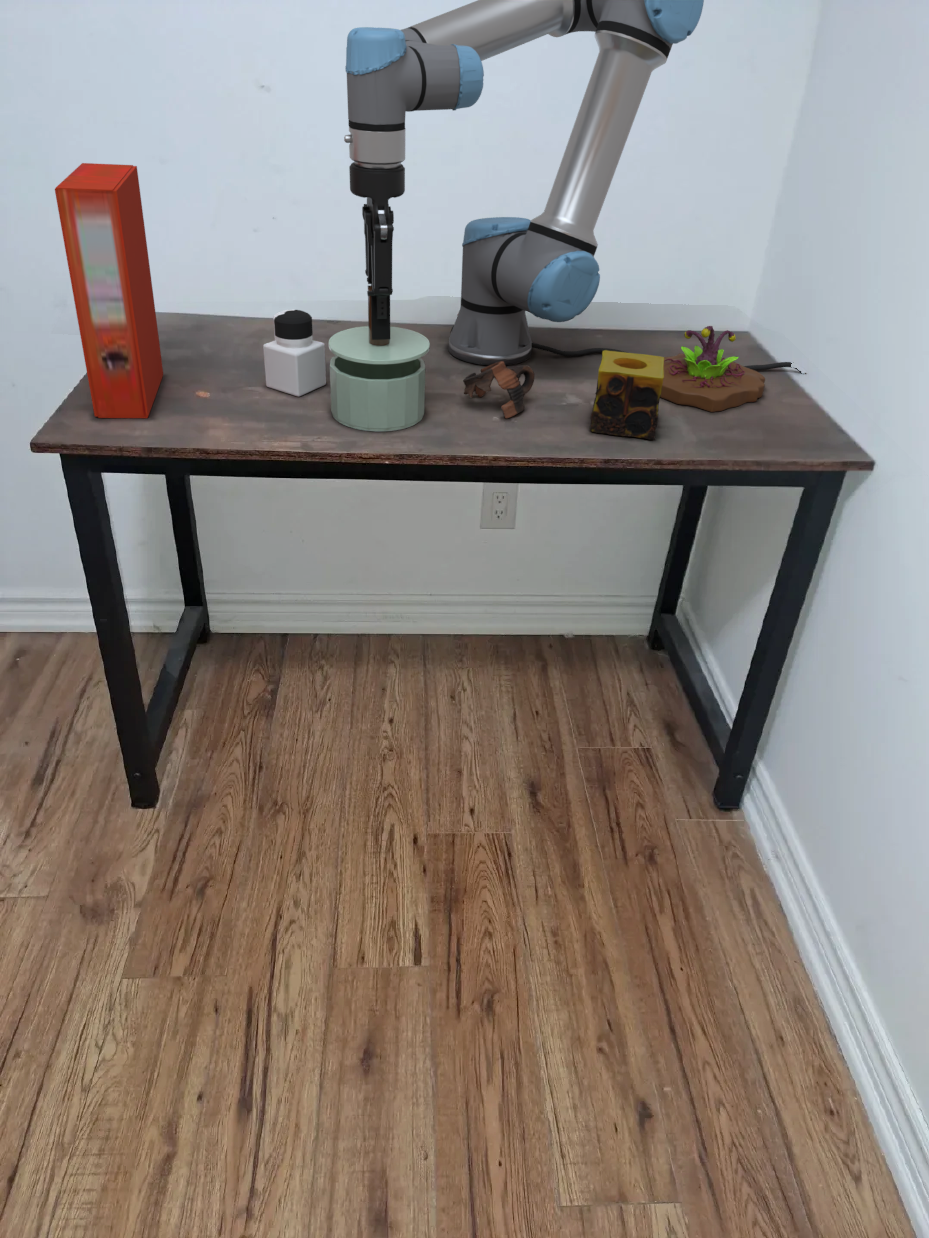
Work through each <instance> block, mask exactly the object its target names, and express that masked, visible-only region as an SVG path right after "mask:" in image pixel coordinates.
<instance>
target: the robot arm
mask: <svg viewBox="0 0 929 1238" xmlns="http://www.w3.org/2000/svg"><path fill="white" fill-rule="evenodd" d="M704 2H705V0H475V1H472V2H470V3H467V4H465V5H462V6H460V7H457V8H455V9H452V10H448V11H447V12H444V13H442V14H439V15H436V16H433V17H432V18H428V19H426V20H423V21H421V22H418V23H416V24H413V25H411V26H408V27H406V28H402V29H399V28H391V27H373V26H372V27H371V26H370V27H369V26H362V27H354V28H352V29H351V30H349V32H348V34H347V37H346V48H345V49H346V51H345V67H344V68H345V73H346V95H347V120H348V132H349V133H350V134H345V135H344V137H343V138H344V139H343V141H344V143H347V144H349V145H348V151H349V153H348V154H349V159H350V160H351V161H352V162H351V163H350V165H349V169H348V171H349V190H350V191H349V192H351V194H352V195H354V196H356V197H358V198H364V199H365V198H366V203H364V204H363V206H362V207H361V209H362V210H361V214H362V215H361V216H362V220H363V234H364V246H365V247H364V249H365V252H364V253H365V270H364V271H365V273H364V274H365V275H366V282H367V288H368V287H370V286H372V291H368V290H366V292H367V293H366V294H367V297H368V296H371V332H372V340H382V339H390V326H391V296H392V295H393V293H394V289H393V241H394V239H393V238H394V237H393V236H394V231H395V227H394V222H395V221H394V219H395V217H394V214H395V213H394V210H392V207H391V206H389V205H390V204H389V200H390V199H392V198H394V199H396V198H400V197H402V196H403V195H404V194H405V192H406V167H405V166H404V165H403V164H402V163H404V162H405V160H406V130H407V129H406V113H407V112H409V113H411V112H419V111H441V110H442V111H444V110H446V111H447V110H452V112H453V111H457V110H460V109H467V108H470V107H472V106H474V105H475V104H477V102H478V101H479V100H480V98H481V96H482V93H483V89H484V76H485V71H484V65H483V61H485V60H487V59H490V58H492V57H493V58H494V57H495V56H497V55H500V54H503V53H505V52H507V51H509V50H512V49H514V48H517V47H520V46H522V45H525V44H526V43H530V42H533V41H535V40H537V39H539V38H542V37H544V36H547V35H549V36H550V37H553V38H560V37H564V36H565V35H568V34H571V33H578V32H593V33H594V38H595V41H596V44H597V46H598V51H599V52H598V55H597V57H596V61H595V63H594V66H593V69H592V72H591V74H590V78H589V80H588V83H587V86H586V89H585V92H584V94H583V98H582V100H581V103H580V106H579V109H578V112H577V115H576V117H575V121H574V124H573V127H572V129H571V132H570V135H569V138H568V142H567V143H566V146H565V150H564V152H563V156H562V158H561V161H560V164H559V166H558V170H557V173H556V175H555V178H554V181H553V184H552V187H551V190H550V193H549V195H548V199H547V201H546V204H545V206H544V210H543V212H542V213H541V214H539V215H538V216H536V217H533V218H532V219H529V218H527V217H526V218H525V217H519V216H518V217H516V216H499V217H498V216H496V217H495V216H494V217H484V218H483V217H482V218H477V219H473V220H471V221H470V222H467V224H466V225H465V228H464V232H463V233H464V234H463V241H462V244H461V246H462V257H461V287H460V288H461V289H460V306H459V310H458V313H457V316H456V319H455V321H454V324H453V325H452V327H451V330H450V332H449V333H450V334H449V337H448V352H449V353H450V355H452V356H453V357H455V358H457V359H458V360H461V361H463V362H466V363H470V364H474V365H481V366H490V365H492V364H494V363H497V362H500V361H504V363H505V366H511V365H517V364H521V363H523V362H525V361H527V360H528V359H530V358H531V357H532V350H533V349H536V350H541V351H545V352H549V353H551V354H555V355H558V356H562V357H579V356H585V355H591V354H602V352H603V351H604V350H607V351H615V352H626V353H629V352H628V351H623V350H620V349H614V348H608V347H593V348H586V349H585V348H584V349H580V350H563V349H562V350H561V349H558V348H555V347H552V346H549V345H544V344H541V343H536V342H533V341H532V337H531V333H530V329H529V325H528V319H527V315H526V312H527V313H530V314H532V315H533V316H534V317H536V318H539V319H541V320H547V321H550V322H553V323H564V322H569V321H571V320H573V319H574V318H575V317H577V316H579V315H581V314H582V313H583V312H584V311H585V310H586V309H587V308H588V307H589V306H590V304H591V303H592V301H593V300H594V298H595V296H596V295H597V291H598V289H599V286H600V281H601V274H600V272H599V271H600V266H599V263H598V261H597V260H596V258H595V255H596V252H597V249H598V246H599V244H598V241H597V239H596V236H595V232H594V231H595V228H596V225H597V223H598V220H599V217H600V213H601V211H602V208H603V206H604V203H605V200H606V197H607V195H608V193H609V189H610V187H611V184H612V182H613V179H614V176H615V174H616V171H617V168H618V165H619V163H620V160H621V158H622V154H623V151H624V149H625V146H626V143H627V141H628V138H629V135H630V134H631V133H630V132H631V130H632V127H633V124H634V121H635V119H636V116H637V113H638V110H639V108H640V106H641V102H642V100H643V98H644V94H645V92H646V89H647V86H648V83H649V81H650V78H651V75H652V73H653V71H655V70H656V69H658V68H659V67H661V66H663V65H665V64H666V63H667V61H668V58H669V55H670V52H671V50H672V47H673V45H674V44H679V43H681V42H683V41H685V40H686V39H688V37H689V36H691V35H692V34H693V33H694V31H695V30H696V28H697V26H698V24H699V21H700V19H701V17H702V13H703V9H704ZM791 362H792V361H783V362H782V361H779V362H773V363H767V364H753V365H743V366H744V367H746V368H749V369H752V370H755V371H767V370H774V369H779V368H781V369H782V368H791V369H793V368H792V367H791V364H792V363H791ZM794 370H797V372H799V374H802V373H801V372H800V371H799V370H798V369H797V368H794ZM802 375H803V374H802Z"/></svg>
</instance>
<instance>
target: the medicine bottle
mask: <svg viewBox="0 0 929 1238" xmlns="http://www.w3.org/2000/svg"><path fill="white" fill-rule="evenodd" d="M272 320H273V336H274V340H271V341H269V342H267V343H264V344H263V345H262V347H263V359H264V360H263V362H264V363H263V364H264V377H265V386H266V387H267V388H269V389H273V390H275V391H279V392H282V393H285V394H288V395H291V396H295V397H297V398H299V397H301V396H304V395H306V394H308V393H311V392H313V391H315V390H317V389H319V388H321V387H324V386H325V385H326V384H327V374H326V373H327V372H326V371H327V369H326V367H327V366H326V345H325V343H324V342H321V341H319V340H314V339H313V338H314V336H313V335H314V334H313V333H314V331H313V317H312V315H311V313H309V312H306V311H304V310H300V309H284V310H281V311H278V312H276V313H275V314H274V315H273V318H272Z"/></svg>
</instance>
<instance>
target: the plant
mask: <svg viewBox="0 0 929 1238" xmlns="http://www.w3.org/2000/svg"><path fill="white" fill-rule="evenodd" d="M693 335H694V336H695V337H696V338H697V339H698V341H699V342H700V344H701V346H702V348H701V347H700V346H699V345H694V348H693V349H694V351H692V349H690V348H689V347H687V346H686V347H685V346H683V345H682V346H680V349H681V351H682V352H683V353H682V352H681V353H680V352H679V353H677V355H671V356H663V357H664V367H663V370H664V378H663V385H662V390H661V397H660V399H664V400H666V401H669V402H672V403H674V404H676V405H682V406H689V407H695V408H698V409H701V410H703V411H707V412H710V413H714V412H723V411H725V410H727V409H731V408H737V407H740V406H742V405H743V404H746V403H756V402H757V401H758V399H759V398H762V397H763V394H764V390H765V386H766V384H765V382H766V377H765V376H764V375H763V374H761V373H760V372H759V371H758V370H752V369H749V368H746V367H744V366H745V365H741V364H740V363H738V362H736V360H738V359H739V356H729V357H726V358H725V357H723V356H724V353H725V352H724V351H725V350H724V349H723V348H720V345H721V342H722V340H723V339H724V337H725V336H726V335H728V336H727V338H728V341H729V342H731V343H733V342H735V341H736V339H737V337H736V334H735V333H734V332H733V331H730V330H728V329H726V330H724V331H723V332H722V333H720V334H719V335H718V337H716V340H715V329H714V326H713V325H707V326H705V327H704V328H703V329H702V330H701V333H699V332H697V331H695V330H692V329H688V330H686V331H685V332H684V335H683V336H684V338H685V340H686V339H687V340H689V339H692V337H693ZM705 338H708V339H707V341H706V340H705Z"/></svg>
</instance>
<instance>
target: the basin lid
mask: <svg viewBox="0 0 929 1238" xmlns="http://www.w3.org/2000/svg"><path fill="white" fill-rule="evenodd" d="M369 286H370V287H368V286H367V291H372V286H371V285H369ZM367 323H368V324H367V325H365V326H356V327H350V328H348V329H344V330H341V331H338V332H336V333H335V334H333V335H332V336H331V337H330V338H329V339H328V349H329V351H330V352H331V353H332V354H333V355H334V356H335V355H336V356H338V357H341V358H343V359H346V360H349V361H353V362H358V363H365V364H397V363H404V362H409V361H412V360H416V359H418V358H421V359H422V357H424V356H426V355H427V354H428V353H429V352H430V348H431V343H430V340H429V339H428V337H426V336H425V335H424V334H422V333H420V332H418V331H414V330H412V329H409V328H404V327H398V326H391V325H390V339H382V340H372V332H371V296H368V295H367Z"/></svg>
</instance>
